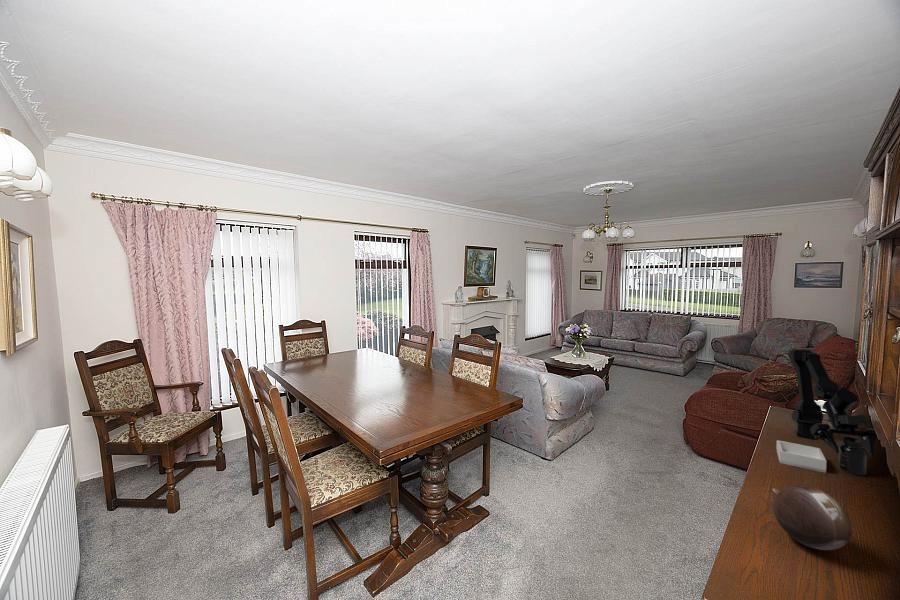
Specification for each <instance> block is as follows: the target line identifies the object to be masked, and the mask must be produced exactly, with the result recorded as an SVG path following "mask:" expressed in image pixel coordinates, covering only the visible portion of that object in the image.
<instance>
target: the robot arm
mask: <svg viewBox="0 0 900 600" xmlns="http://www.w3.org/2000/svg"><path fill="white" fill-rule="evenodd" d="M787 356H788V358H789V362H790V364H791V365H792V366H793V367H794V368H795V372H796V380H797V388H798V389H797V390H798V396H799V400H798V401H797V403H796V405H795V409H794V411H793V412H792V413H791V414H790V416H791V420H792V421H793V422H795V423H796V430H794V433H795V435H796V437H800V438H806V439H812V440H817V439H821V441H823V442H825V443H826V444H827V445H828V447H830V449H832V450H833V451H834V452H835V453H836V454H839V447H838V444H837V441H836V440H835V437H834V434H835V435H836V434H837V435H845V436H855V437H860V440H861V441H862V442H863V447H864V449H865V450H866V452H867V454H868V456H869V458H874V456H875V455H874V454H875V444H876V443H878V442H879V441H880V440H878V438H877V435H876V433H875V431H874V429H875V428H867V427H866V428H865V429H863V430H857V429H859V428H860V426H861V427H863V425H867V424H869V419H868V417H867V416H866V415H865V414H856V415H851V414H849V413H848V410H849V409H850V408H852V407H853V406H854V405H855V403H857V402H858V400H859V399H858V396H857V394H856V393H855V392H853V391H851V390H848V389H847V387H846V386H845V387H844V386H839V385H838V383H836V382H835V381H833V380H832V379H831V378H830V377H829V374H828V372H827V370H826V369H825V366H824V364H823V361H822V360H821V354H820V353H817V352H813V351H812V350H810V349H798V348H797V349H796V348H792V349H791V350H790V351H788V354H787ZM812 379H813V380H812ZM813 381H814V383H815V385H814V387H813ZM815 397H816V398H817V399H819V400H825V401H824V403H823V404H822V406H821V405H819V404H818V403H817V402H816V401H815ZM822 410H825V411H826V414H827V416H828V419H827V422H828V423H830V424H831V426H832V427H831V426H830V424H828V423H823V419H824V414H823V412H822Z"/></svg>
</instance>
